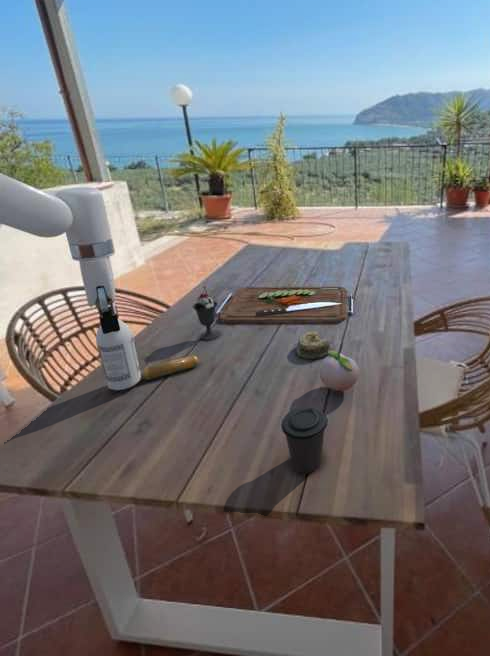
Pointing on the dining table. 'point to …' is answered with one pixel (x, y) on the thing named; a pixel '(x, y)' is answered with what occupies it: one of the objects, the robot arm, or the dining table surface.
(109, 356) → the bath foam
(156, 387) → the dining table surface
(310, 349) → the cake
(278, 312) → the chopping board
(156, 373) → the breadstick
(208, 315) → the sundae
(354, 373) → the decorative fruit
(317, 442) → the coffee cup
